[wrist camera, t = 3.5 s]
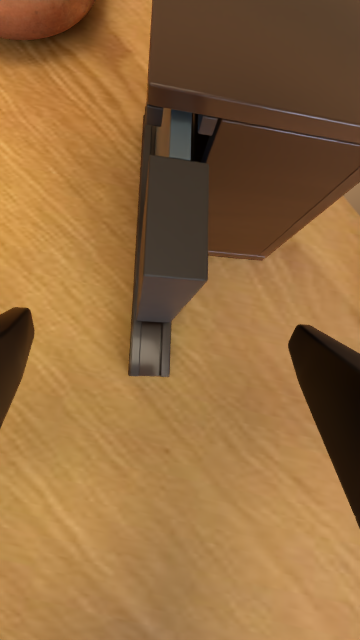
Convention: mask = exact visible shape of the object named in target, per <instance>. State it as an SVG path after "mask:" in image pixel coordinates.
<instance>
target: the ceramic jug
mask: <svg viewBox="0 0 360 640" xmlns="http://www.w3.org/2000/svg"><path fill="white" fill-rule="evenodd" d="M94 2H95V0H0V38H6V39H13V40H34V39H41V38H46V37H50V36H53V35H56V34H59V33H61V32H64V31H66V30H68V29H69V28H71V27H72V26H74V25H75V24H76V23H78V22H79V21H80V20H81V19H82V18H83V17H84V16H85V15H86V14H87V13H88V12H89V10H90V9H91V7H92V6H93V4H94Z"/></svg>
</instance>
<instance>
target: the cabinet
mask: <svg viewBox="0 0 360 640" xmlns="http://www.w3.org/2000/svg"><path fill="white" fill-rule="evenodd" d="M164 108H168V109H173V110H179V111H184V112H190V113H192V124H191V160H190V161H195V162H201V163H208V164H209V212H208V255H212V256H222V257H232V258H242V259H252V260H263V259H264V258H266V257H267V256H268V255H270V254H271V253H272V252H273V251H275V250H276V249H277V248H278V247H280V246H281V245H282V244H283V243H285V242H286V241H287V240H288V239H289V238H291V237H292V236H293V235H294V234H296V233H297V232H298V231H299V230H301V229H302V228H303V227H304V226H306V225H307V224H308V223H309V222H311V221H312V220H313V219H314V218H316V217H317V216H318V215H319V214H321V213H322V212H323V211H324V210H325V209H327V208H328V207H329V206H330V205H332V204H333V203H334V202H335V201H337V200H338V199H339V198H340V197H342V196H343V195H344V194H345V193H347V192H348V191H349V190H350V189H352V188H353V187H354V186H355V185H356V184H358V183H359V182H360V0H152V15H151V32H150V49H149V67H148V84H147V102H146V107H145V115H144V116H143V133H142V150H141V167H140V184H139V201H138V218H137V235H136V252H135V269H134V286H133V303H132V320H131V337H130V354H129V371H128V375H129V376H161V377H169V373H170V344H171V322H170V323H167V322H149V321H137V320H136V315H137V297H138V279H139V261H140V248H141V238H142V227H143V216H144V206H145V195H146V185H147V174H148V163H149V156H150V155H154V153H155V133H156V126H157V127H161V124H162V117H163V109H164Z"/></svg>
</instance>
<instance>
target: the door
mask: <svg viewBox="0 0 360 640" xmlns="http://www.w3.org/2000/svg"><path fill="white" fill-rule="evenodd" d="M191 124H192V113H190V112H184V111H179V110H173V109H168V108H164V109H163V117H162V124H161V127H157V126H156V133H155V153H154V155H150V156H149V163H148V174H147V185H146V195H145V206H144V216H143V227H142V238H141V248H140V261H139V279H138V297H137V315H136V320H137V321H149V322H167V323H170V322H171V321H172V319H173V318H174V317H175V316H176V315H177V314H178V313H179V312H180V311H181V309H182V308H183V307H184V306H185V305H186V304H187V303H188V302H189V301H190V299H191V298H192V297H193V296H194V295H195V294H196V293H197V292H198V291H199V289H200V288H201V287H202V286H203V285H204V284H205V283H206V282H207V280H208V212H209V164H208V163H201V162H195V161H190V160H191Z"/></svg>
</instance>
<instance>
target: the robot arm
mask: <svg viewBox="0 0 360 640" xmlns="http://www.w3.org/2000/svg"><path fill="white" fill-rule="evenodd" d="M33 338H34V325H33V320H32V315H31V311H30V310H29V309H28V308H18V307H15V308H12V309H10V310H8V311H6V312H5V313H3V314H1V315H0V428H1V426H2V423H3V421H4V419H5V416H6V414H7V412H8V410H9V407H10V405H11V403H12V400H13V398H14V396H15V393H16V391H17V389H18V386H19V384H20V382H21V379H22V376H23V373H24V370H25V366H26V363H27V359H28V356H29V352H30V349H31V345H32V342H33ZM288 348H289V352H290V355H291V359H292V362H293V365H294V369H295V372H296V375H297V379H298V382H299V384H300V387H301V390H302V392H303V394H304V397H305V399H306V402H307V404H308V406H309V409H310V411H311V413H312V416H313V418H314V421H315V423H316V425H317V428H318V430H319V432H320V435H321V437H322V440H323V442H324V444H325V447H326V449H327V451H328V454H329V456H330V459H331V461H332V463H333V466H334V468H335V470H336V473H337V475H338V478H339V480H340V482H341V485H342V487H343V490H344V492H345V494H346V497H347V499H348V501H349V504H350V506H351V509H352V511H353V513H354V515H355V516H356V517H355V518H356V521H357V523H358V526H359V528H360V354H359V353H357V352H356V351H354V350H352V349H351V348H349V347H347V346H345V345H344V344H342V343H340V342H338V341H337V340H335V339H333V338H331V337H330V336H328V335H326V334H324V333H323V332H321V331H319V330H317V329H316V328H314V327H312V326H310V325H301V324H300V325H297V326H296V328H295V330H294V332H293V334H292V336H291V338H290V340H289V343H288Z"/></svg>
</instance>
